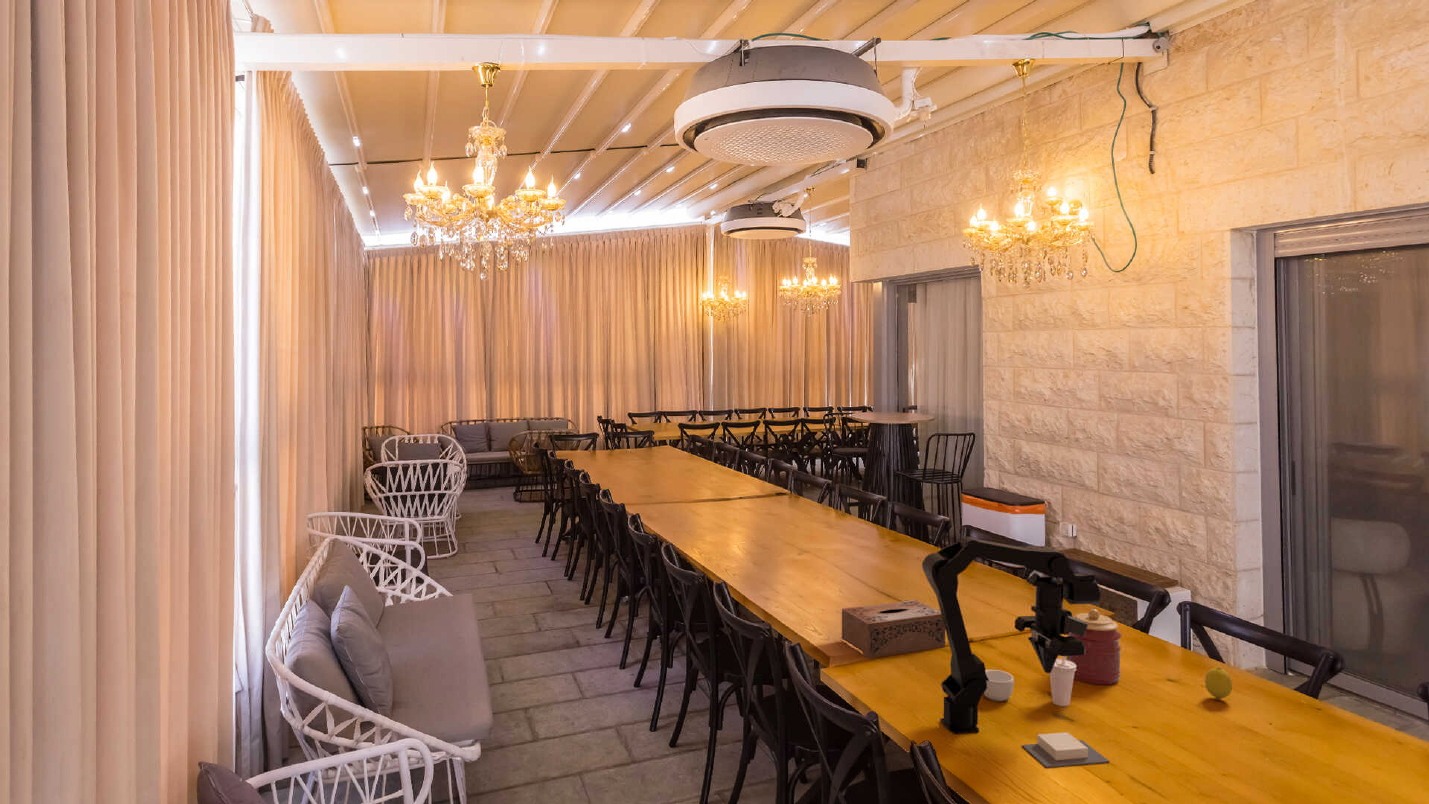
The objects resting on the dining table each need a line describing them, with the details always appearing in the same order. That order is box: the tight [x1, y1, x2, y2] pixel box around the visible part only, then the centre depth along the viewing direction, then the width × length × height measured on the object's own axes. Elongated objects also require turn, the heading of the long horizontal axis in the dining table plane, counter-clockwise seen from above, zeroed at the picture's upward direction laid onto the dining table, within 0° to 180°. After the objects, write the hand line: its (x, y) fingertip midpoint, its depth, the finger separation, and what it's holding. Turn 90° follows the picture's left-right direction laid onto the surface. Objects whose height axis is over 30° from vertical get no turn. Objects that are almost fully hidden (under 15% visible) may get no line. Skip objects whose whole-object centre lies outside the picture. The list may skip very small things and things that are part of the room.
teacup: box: [983, 669, 1015, 702], centre depth 190 cm, size 10×8×5 cm
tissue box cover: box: [841, 599, 946, 659], centre depth 226 cm, size 26×14×10 cm, turn 111°
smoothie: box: [1049, 656, 1076, 707], centre depth 186 cm, size 6×6×14 cm
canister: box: [1065, 608, 1122, 685], centre depth 203 cm, size 13×13×18 cm
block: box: [1036, 731, 1088, 760], centre depth 162 cm, size 7×2×7 cm
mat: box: [1021, 739, 1110, 769], centre depth 162 cm, size 14×9×1 cm, turn 99°
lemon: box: [1204, 666, 1233, 700], centre depth 188 cm, size 6×6×8 cm
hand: (1047, 672), depth 174 cm, fingers closed
